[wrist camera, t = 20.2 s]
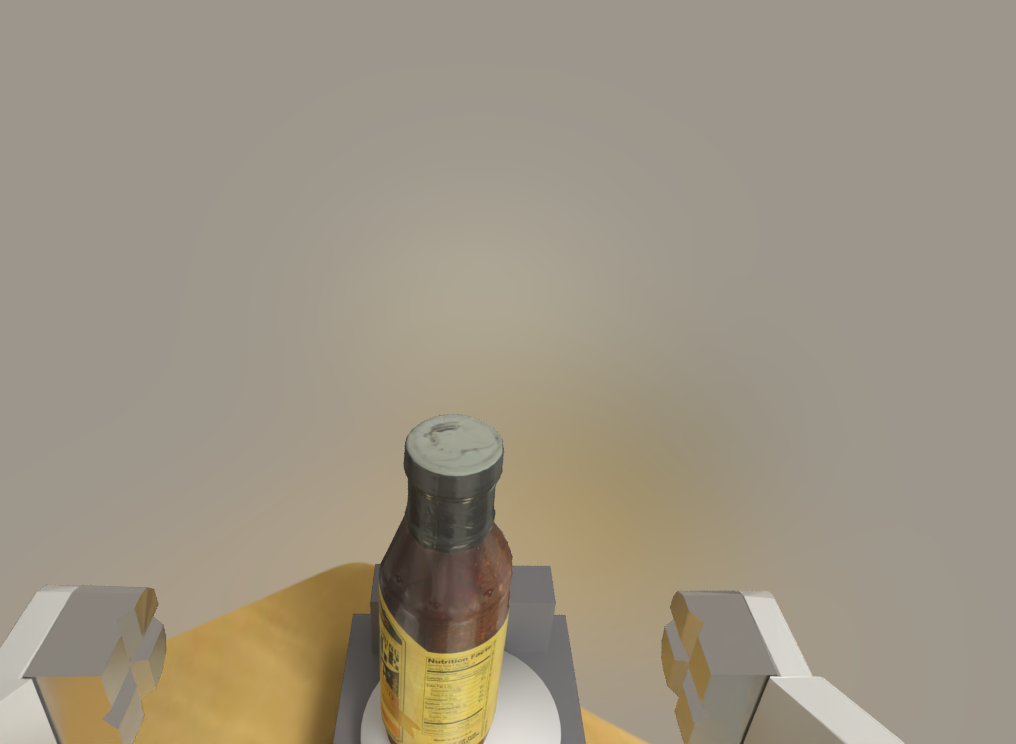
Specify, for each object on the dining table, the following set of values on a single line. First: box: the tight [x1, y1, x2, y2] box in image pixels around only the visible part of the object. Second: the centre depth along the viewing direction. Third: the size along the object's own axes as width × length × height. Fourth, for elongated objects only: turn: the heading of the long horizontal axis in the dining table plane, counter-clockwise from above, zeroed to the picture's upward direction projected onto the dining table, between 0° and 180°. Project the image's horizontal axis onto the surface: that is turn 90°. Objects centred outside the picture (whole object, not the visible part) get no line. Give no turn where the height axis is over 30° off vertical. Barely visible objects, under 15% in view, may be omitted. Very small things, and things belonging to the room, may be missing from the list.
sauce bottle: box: [379, 414, 513, 744], centre depth 35 cm, size 6×6×20 cm
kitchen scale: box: [333, 564, 586, 744], centre depth 42 cm, size 14×14×8 cm
